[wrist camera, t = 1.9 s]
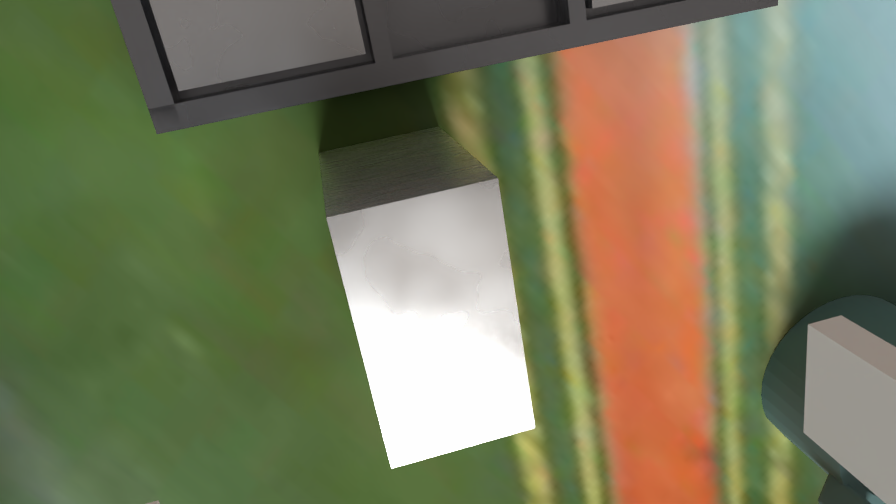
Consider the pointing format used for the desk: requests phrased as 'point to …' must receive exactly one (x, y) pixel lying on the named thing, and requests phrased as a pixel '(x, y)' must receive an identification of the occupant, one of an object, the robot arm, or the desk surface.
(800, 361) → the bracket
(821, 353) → the robot arm
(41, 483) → the desk surface
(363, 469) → the desk surface
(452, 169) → the grey metallic block
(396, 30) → the frame
